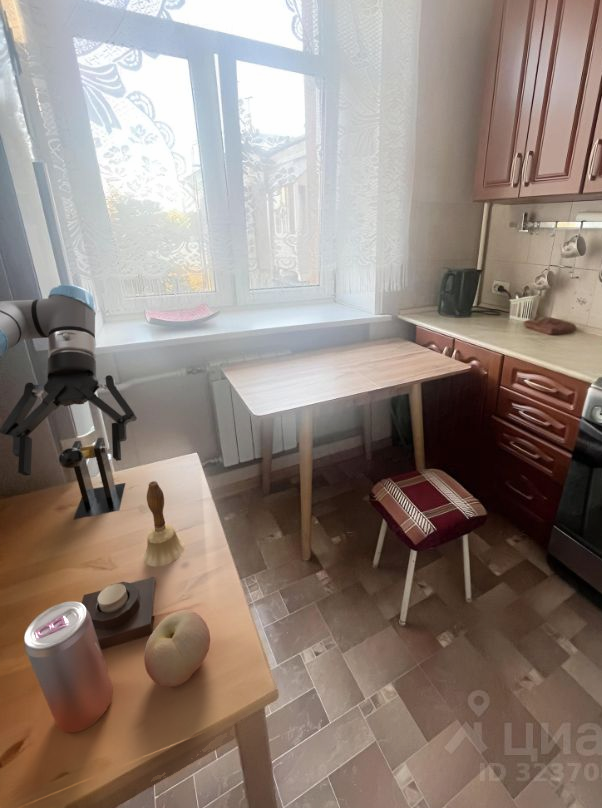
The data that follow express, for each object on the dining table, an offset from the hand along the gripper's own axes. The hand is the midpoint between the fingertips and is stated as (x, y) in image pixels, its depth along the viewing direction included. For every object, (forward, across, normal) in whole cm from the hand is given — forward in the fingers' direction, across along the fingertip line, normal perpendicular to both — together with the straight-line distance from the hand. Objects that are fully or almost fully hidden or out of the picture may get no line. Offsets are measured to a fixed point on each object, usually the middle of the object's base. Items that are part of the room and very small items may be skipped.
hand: (72, 466), depth 69 cm
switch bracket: (+4, 0, +19) cm, 20 cm away
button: (+23, +7, -5) cm, 25 cm away
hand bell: (+18, +13, +5) cm, 23 cm away
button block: (+26, +7, -3) cm, 27 cm away
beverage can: (+34, +5, -11) cm, 37 cm away
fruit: (+34, +16, -10) cm, 39 cm away
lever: (-2, 0, +5) cm, 6 cm away
